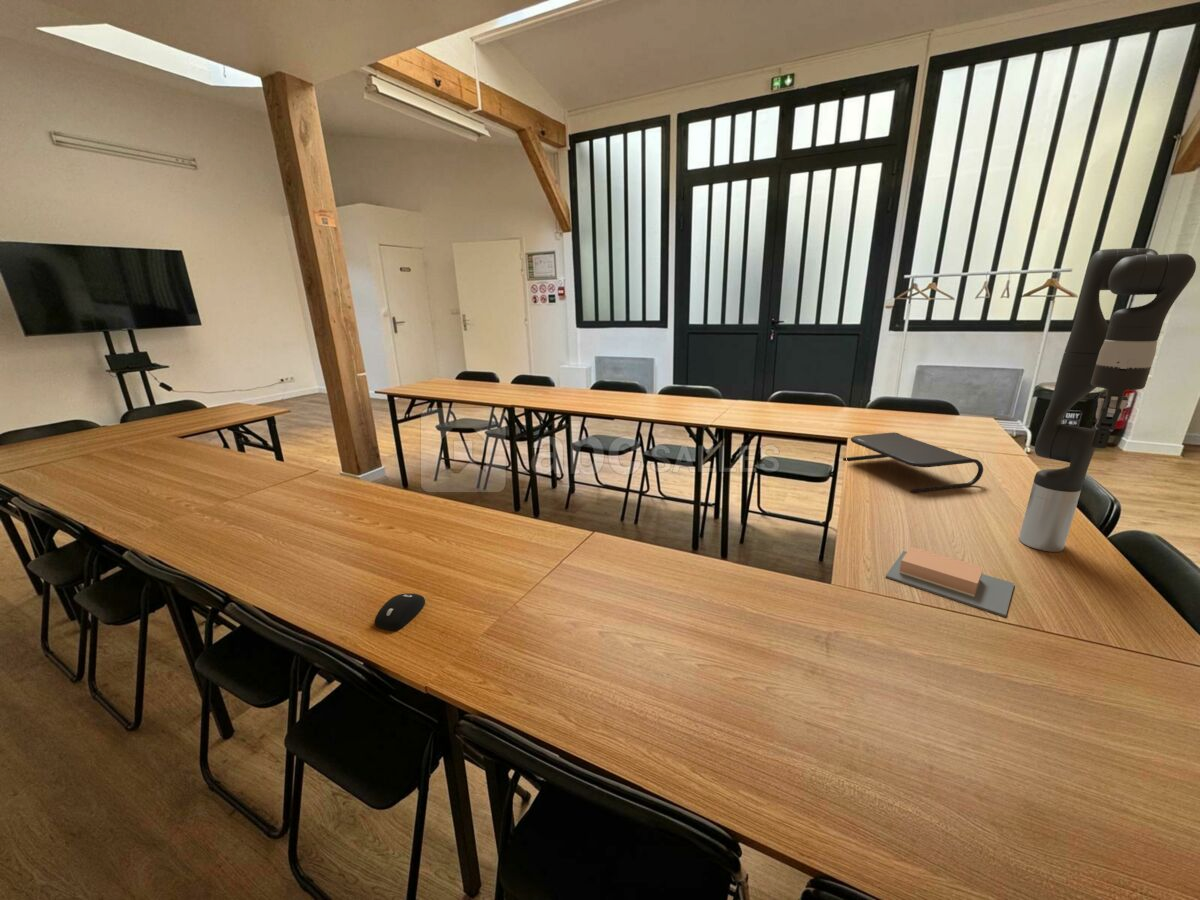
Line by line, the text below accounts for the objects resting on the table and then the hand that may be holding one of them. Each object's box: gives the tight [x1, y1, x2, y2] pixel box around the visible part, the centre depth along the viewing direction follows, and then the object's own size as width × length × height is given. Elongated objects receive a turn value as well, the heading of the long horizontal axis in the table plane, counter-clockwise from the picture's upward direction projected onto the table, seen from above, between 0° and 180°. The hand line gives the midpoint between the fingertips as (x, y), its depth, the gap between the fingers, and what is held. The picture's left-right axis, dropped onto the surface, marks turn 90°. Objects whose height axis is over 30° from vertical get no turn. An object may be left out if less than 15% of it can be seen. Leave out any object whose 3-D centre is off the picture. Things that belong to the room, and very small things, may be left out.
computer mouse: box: [374, 592, 426, 632], centre depth 109 cm, size 8×12×4 cm, turn 161°
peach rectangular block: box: [899, 546, 984, 597], centre depth 115 cm, size 9×4×15 cm
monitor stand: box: [842, 431, 984, 494], centre depth 183 cm, size 37×28×11 cm
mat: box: [885, 550, 1015, 618], centre depth 115 cm, size 16×23×1 cm
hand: (1098, 446), depth 99 cm, fingers closed
